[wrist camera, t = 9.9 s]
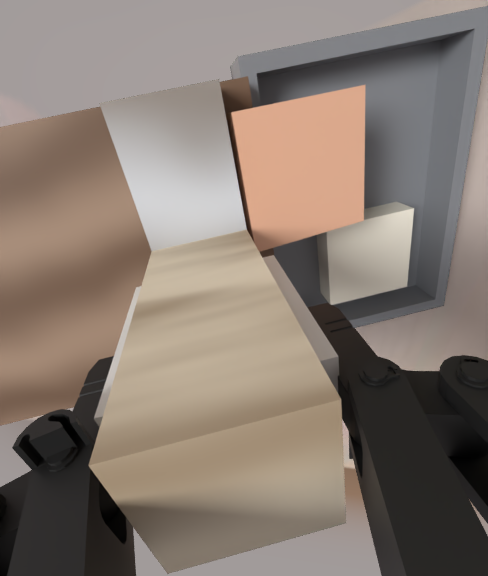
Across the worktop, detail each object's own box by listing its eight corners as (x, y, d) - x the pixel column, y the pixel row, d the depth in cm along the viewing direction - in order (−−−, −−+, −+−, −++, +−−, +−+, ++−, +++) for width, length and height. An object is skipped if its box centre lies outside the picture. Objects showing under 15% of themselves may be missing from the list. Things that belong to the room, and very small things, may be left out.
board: (271, 313, 26) (288, 353, 21) (-3, 380, 24) (-45, 436, 20) (233, 87, 18) (248, 76, 13) (-172, 171, 17) (-299, 188, 12)
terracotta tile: (341, 212, 18) (363, 220, 16) (243, 240, 17) (256, 252, 15) (338, 90, 15) (365, 84, 13) (219, 114, 14) (231, 112, 12)
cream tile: (330, 305, 23) (320, 292, 25) (406, 286, 23) (391, 275, 25) (326, 228, 20) (315, 220, 22) (414, 208, 20) (396, 201, 22)
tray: (418, 287, 27) (443, 305, 24) (273, 323, 26) (282, 345, 23) (448, 22, 18) (493, 4, 15) (230, 66, 17) (237, 56, 15)
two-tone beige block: (268, 364, 21) (349, 608, 10) (204, 380, 21) (220, 646, 10) (214, 85, 13) (322, -81, 3) (111, 106, 13) (-235, 22, 2)
